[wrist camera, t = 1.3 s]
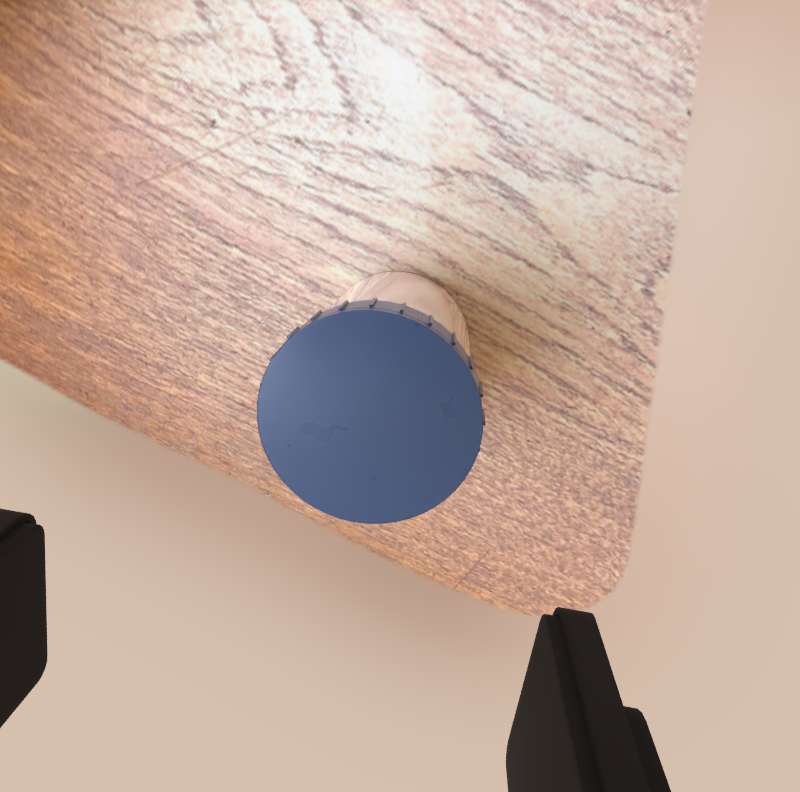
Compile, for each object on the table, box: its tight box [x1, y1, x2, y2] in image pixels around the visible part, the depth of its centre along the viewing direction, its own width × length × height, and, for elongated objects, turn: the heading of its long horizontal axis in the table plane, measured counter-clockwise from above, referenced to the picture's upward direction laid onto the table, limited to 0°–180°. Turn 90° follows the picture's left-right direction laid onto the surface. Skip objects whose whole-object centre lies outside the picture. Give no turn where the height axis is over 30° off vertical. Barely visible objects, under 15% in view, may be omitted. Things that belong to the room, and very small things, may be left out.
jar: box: [329, 272, 470, 356], centre depth 25 cm, size 6×6×10 cm
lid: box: [257, 298, 485, 524], centre depth 21 cm, size 7×7×2 cm
